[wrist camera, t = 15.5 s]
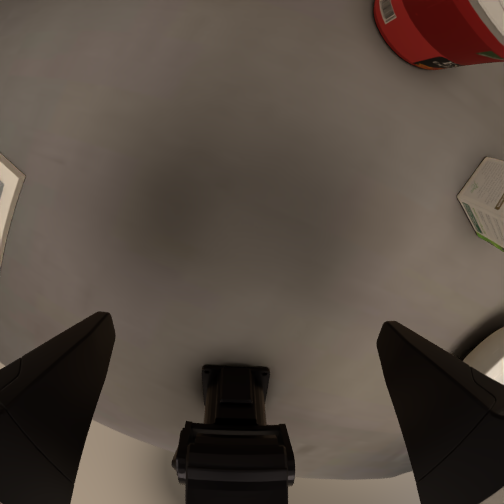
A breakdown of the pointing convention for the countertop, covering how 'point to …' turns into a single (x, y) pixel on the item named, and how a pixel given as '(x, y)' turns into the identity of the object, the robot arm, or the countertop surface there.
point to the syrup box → (486, 201)
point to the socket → (8, 197)
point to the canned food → (443, 31)
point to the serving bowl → (489, 356)
